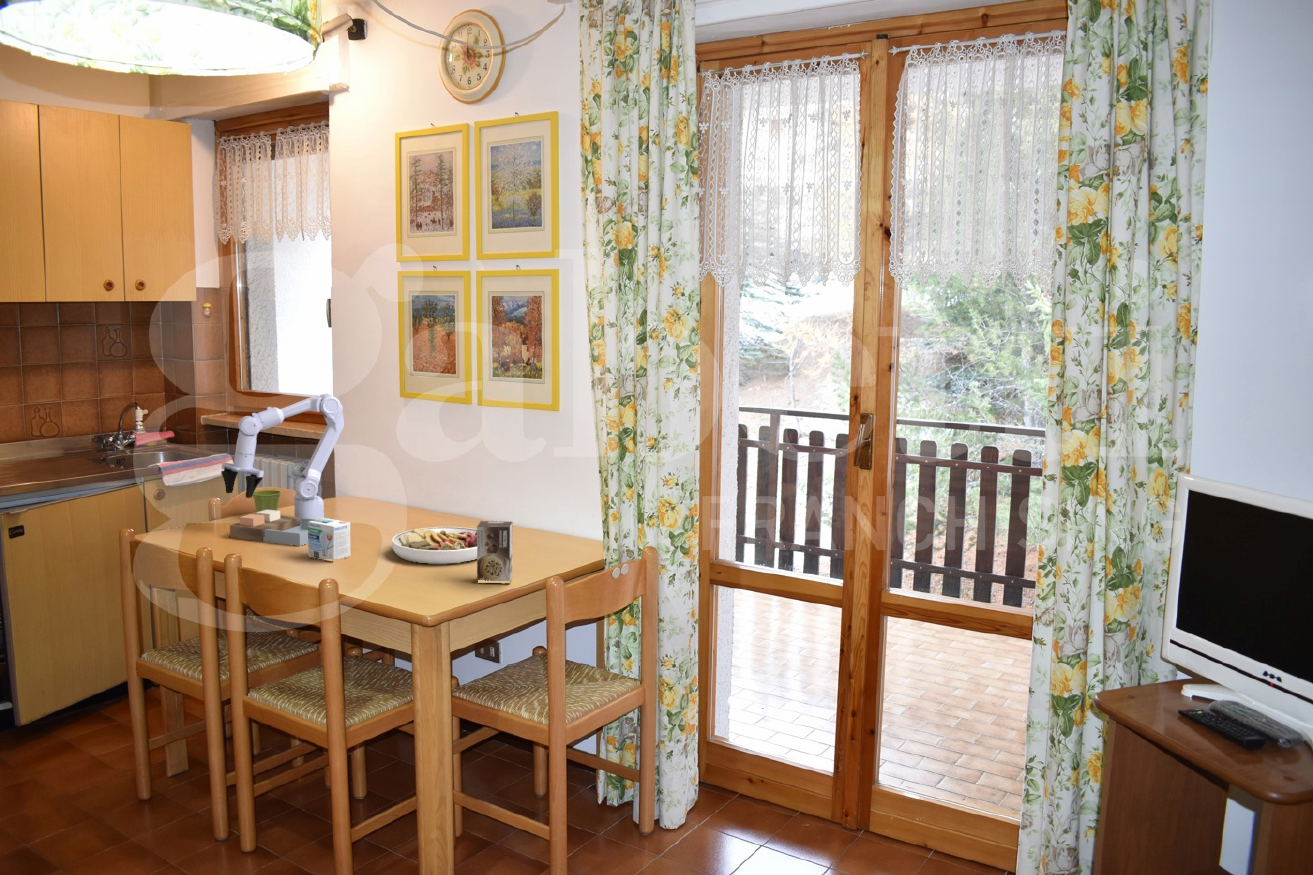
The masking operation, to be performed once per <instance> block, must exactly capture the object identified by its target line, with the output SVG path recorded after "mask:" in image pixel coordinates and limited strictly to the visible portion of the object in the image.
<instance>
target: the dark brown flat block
mask: <svg viewBox="0 0 1313 875" xmlns="http://www.w3.org/2000/svg"><path fill="white" fill-rule="evenodd" d="M297 526H300V517H295V516H291V515H284V514H283V515H281V514H280V519H277V520H274V521H271V522H268V521H264V524H261V525H257V526H254V527H252V526H244V525H240V521H239V522H236V523H232V524H230V525H229V538H230V539H237V540H238V539H239V540H245V541H255V542H261V543H262V542H263V537H265V529H270V530H279V531H284V530H287V529H290V528H294V527H297ZM263 543H264V542H263Z"/></svg>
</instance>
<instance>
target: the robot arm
mask: <svg viewBox="0 0 1313 875" xmlns="http://www.w3.org/2000/svg"><path fill="white" fill-rule="evenodd" d="M343 410H344V407H343V405H342V404H341V402H340V400H339V398H337V397H335V396H333V395H332V394H329V393H322V394H320V395H314V396H310V397H308V398H304V399H303V400H300V401H298V402H295V403H293V404H291V405H290V404H289V405H288V406H285V407H283V408H278V407H275V406H274V407H272V406H267V407H266V409H265V410H262V411H260V412H257V413H256V412H253V413H251V415H252V416H251V415H246V416H243V417H241V419H240V420H238V423H237V427H238V429H239V431H238V433H237V435H238V436H237V439H236V446H235V452H234V460H233V463H228V462H222V464H221V472H220V474H221V477H222V478H223V482H224V487H225V494H232V493H233V490H234V486H235V482H236V479H237V476H238V474H239V473H241V474H245V481H246V490H245V498H247V499H250V498H252V499H253V493H254V491H256V489H257V487H258V485H259V484H260V483H261V481H262V480H263V478H264V475H265V474H264V472H265V470H260V469H258V468H255V467H254V461H255V454H256V448H257V437H258V434H259V432H260V431H264V430H267V429H270V428H272V427H276V426H279V425H281V424H282V423H283V421H284V420H285V419H286V418H290V417H292V416H295V415H299V414H302V413H304V412H308V411H310V412H316V413H320V414H321V415H323V418H324V420H325V422H326V424H327V425H326V427H325V429H324V431H323V434H321V437H320V439H319V441H318V444H317V445H316V448H315V450H314V451H313V454H312V456H311V458H310V459H309V461H308V464H307V465H306V467H305V468H304V469H303V470H302V473H301V474H300V475H299V476H298V477H297V478H296V479H295V480H294V482H293V489H294V491H295V492H296V494H295V495H294V496H293V497H294V499H293V500H294V503H293V504H294V506H293V507H294V517H300V525H301V518H309V519H322V518H325V502H324V500H323V498H322V497H320V496H319V495H317V494H318V492H319V483H320V482H321V477H322V476H321V475H322V472H323V471H324V469H325V467H326V464H327V462H328V460H329V458H330V457H331V456H330V455H331V454H332V452H333V450H334V448H335V446H336V444H337V442H338V440H339V437H340V435H341V433H342V432H343V430H344V427H345V421H344V420H345V418H344V412H343Z"/></svg>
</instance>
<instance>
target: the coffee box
mask: <svg viewBox="0 0 1313 875" xmlns="http://www.w3.org/2000/svg"><path fill="white" fill-rule="evenodd" d="M513 523H514V522H513V521H505V520H504V521H501V520H500V521H498V520H496V521H494V520H493V521H492V520H491V521H490V520H480V521H479V523H478V525H477V526H476V529H477V562H476V564H477V565H476V581H477V580H485V581H486V580H487V581H489V580H490V581H510V580H511V578H512V579H513ZM511 581H512V580H511Z"/></svg>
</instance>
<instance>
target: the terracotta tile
mask: <svg viewBox="0 0 1313 875" xmlns="http://www.w3.org/2000/svg"><path fill="white" fill-rule="evenodd" d="M239 522H240V525H244V526H252V527H254V526H257V525H261V524H264V515H257V514H256V513H255V514H253V513H250V514H246V515H242V516H239Z"/></svg>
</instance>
